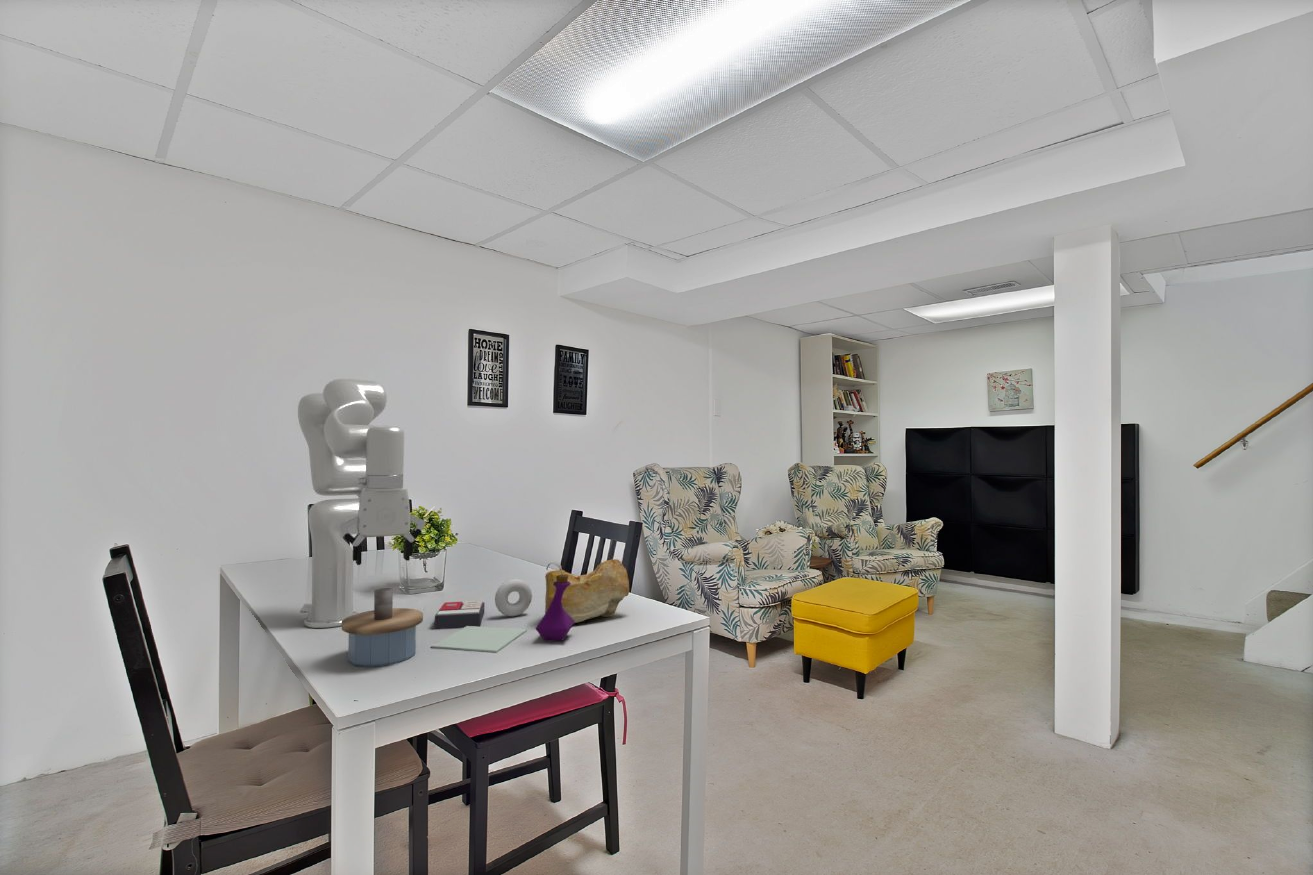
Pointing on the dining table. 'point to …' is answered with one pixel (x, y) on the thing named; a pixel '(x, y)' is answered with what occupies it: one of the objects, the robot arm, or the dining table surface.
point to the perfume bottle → (556, 613)
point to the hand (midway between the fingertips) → (382, 561)
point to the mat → (480, 639)
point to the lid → (382, 617)
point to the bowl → (382, 648)
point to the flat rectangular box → (459, 614)
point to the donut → (504, 592)
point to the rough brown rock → (591, 591)
